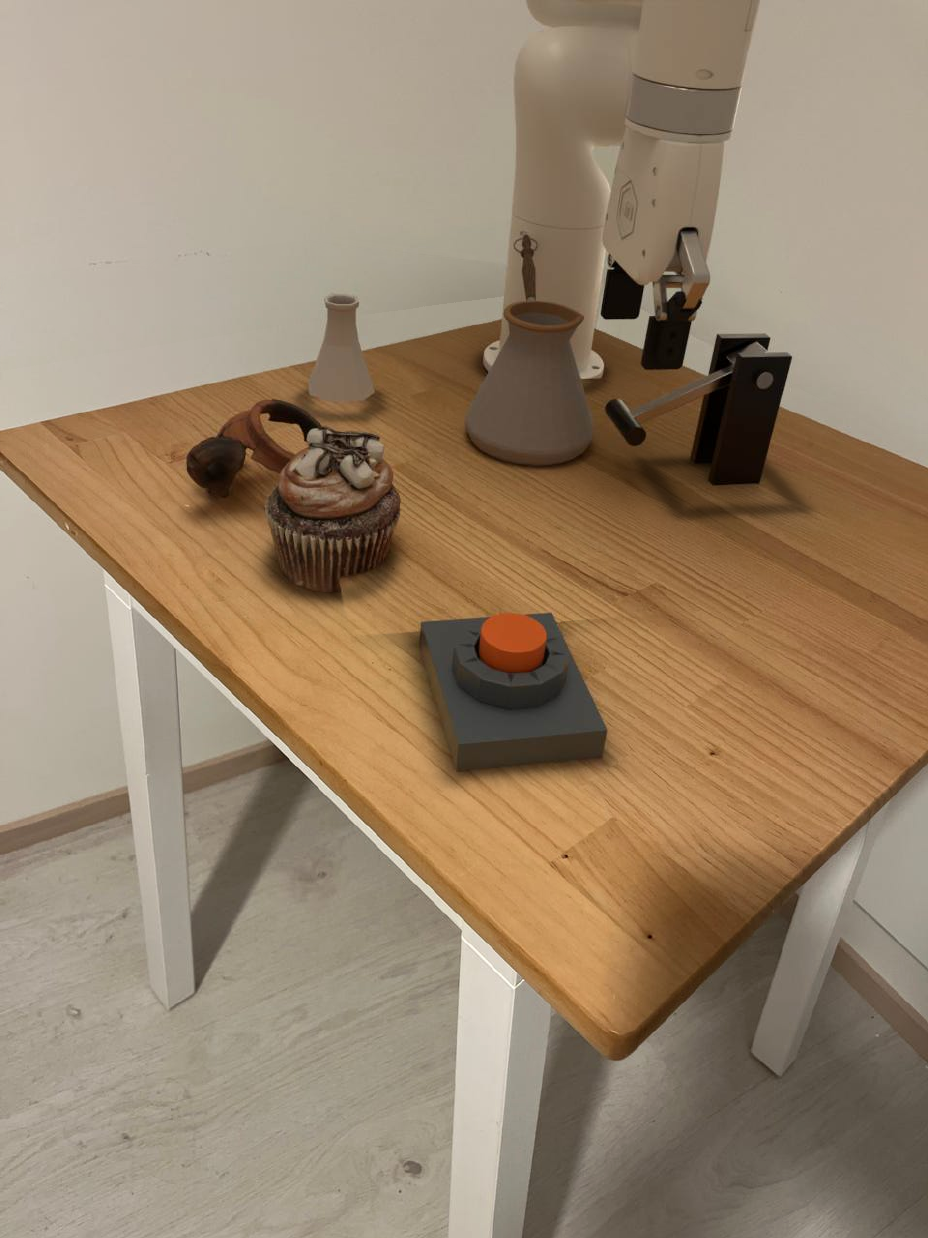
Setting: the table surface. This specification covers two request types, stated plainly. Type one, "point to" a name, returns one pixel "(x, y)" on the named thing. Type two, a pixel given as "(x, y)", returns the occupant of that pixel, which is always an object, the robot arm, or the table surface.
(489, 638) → the button
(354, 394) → the flask
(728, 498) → the table surface
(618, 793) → the table surface
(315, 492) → the cupcake
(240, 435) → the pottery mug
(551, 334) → the coffee pot
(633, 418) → the lever
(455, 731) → the button box
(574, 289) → the robot arm
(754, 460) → the bracket
